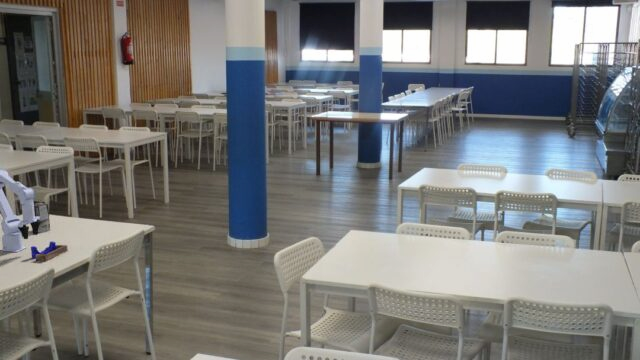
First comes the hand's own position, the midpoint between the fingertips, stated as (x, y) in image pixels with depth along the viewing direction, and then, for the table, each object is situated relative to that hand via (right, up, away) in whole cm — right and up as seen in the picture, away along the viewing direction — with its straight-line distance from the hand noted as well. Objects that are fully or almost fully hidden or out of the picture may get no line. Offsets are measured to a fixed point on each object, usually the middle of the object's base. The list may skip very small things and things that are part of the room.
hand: (30, 236), depth 344 cm
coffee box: (-13, 0, +45) cm, 47 cm away
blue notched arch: (+7, -10, 0) cm, 12 cm away
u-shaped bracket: (+12, -10, -1) cm, 15 cm away
